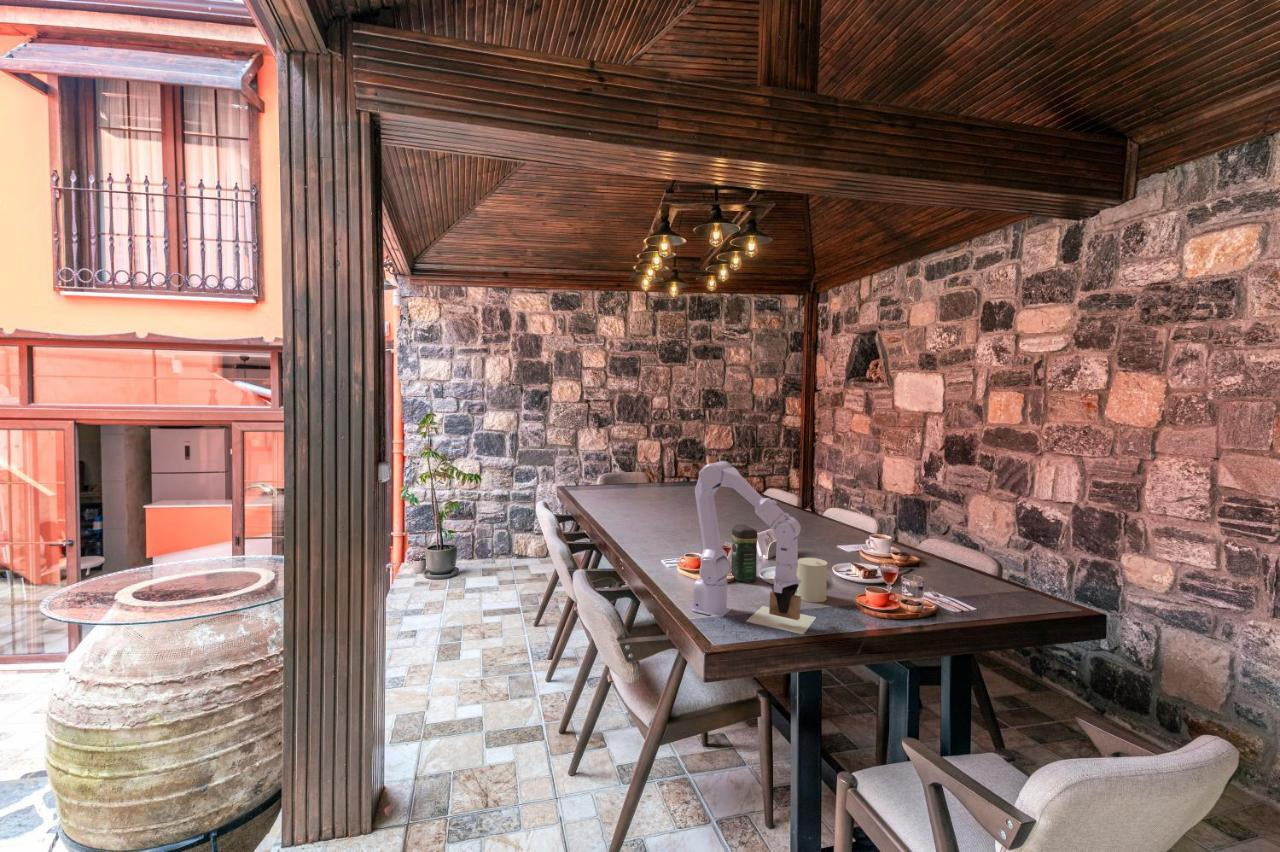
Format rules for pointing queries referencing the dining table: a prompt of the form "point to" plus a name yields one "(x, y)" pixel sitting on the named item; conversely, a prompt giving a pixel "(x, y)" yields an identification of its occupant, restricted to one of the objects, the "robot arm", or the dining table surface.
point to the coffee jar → (744, 553)
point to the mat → (781, 621)
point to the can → (812, 579)
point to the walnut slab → (792, 611)
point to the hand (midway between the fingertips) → (784, 611)
